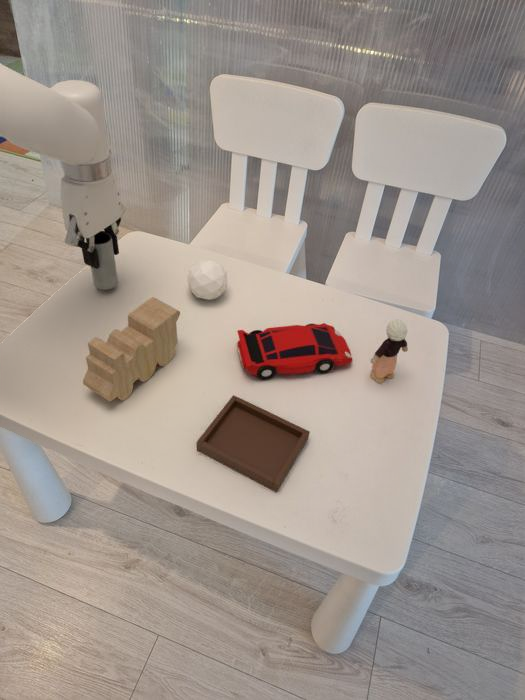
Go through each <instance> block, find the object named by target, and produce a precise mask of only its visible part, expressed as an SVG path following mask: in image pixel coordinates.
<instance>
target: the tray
mask: <svg viewBox="0 0 525 700" xmlns="http://www.w3.org/2000/svg"><path fill="white" fill-rule="evenodd" d="M310 433H311V431H310V430H307V429H305V428H303V427H301V426H299V425H298V424H295V423H293V422H291V421H289V420H287V419H284V418H283V417H281V416H278V415H276V414H274V413H272V412H270V411H268V410H266V409H264V408H262V407H259V406H258V405H256V404H253V403H251V402H249V401H247V400H245V399H243V398H241V397H238V396H236V395H234V394H233V395H232V396H231V398H230V399H229V400H228V401H227V403H226V404H224V406H223V408H222V409H221V410H220V412H219V413H217V415H216V417H214V419H213V420H212V422H211V423H210V424H209V426H208V427H207V428H206V430H205V431H204V432H203V433H202V434H201V436H200V437H199V438H198V440H197V441H196V443H195V445H196V451H197V452H200V454H201V453H202V454H203V455H204V456H207V457H209V458H210V459H213V460H214V461H216V462H217V463H220V464H222V465H224V466H226V467H228V468H229V469H232V470H233V471H235V472H238V473H239V474H240V475H243V476H244V477H247V478H249V479H250V480H252V481H253V482H256V483H258V484H260V485H262V486H263V487H265V488H267V489H270V490H271V491H273V492H275V493H278V492H279V489H280V488H281V486H282V484H283V483H284V481H285V479H286V477H288V474H289V473H290V470H291V469H292V467H293V466H294V464H295V463H296V460H297V459H298V457H299V455H300V454H301V453H302V450H303V449H304V447H305V446H306V444H307V442H308V441H309V437H310Z"/></svg>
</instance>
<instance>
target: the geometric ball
mask: <svg viewBox="0 0 525 700" xmlns="http://www.w3.org/2000/svg"><path fill="white" fill-rule="evenodd" d="M228 284H229V283H228V271H227V270H226V269H225V267H223V265H221V263H220V262H219V261H216V260H213V259H201V260H198V261H197V262H195V264H193V265H192V266H191V267H190V269H189V271H188V273H187V286H188V289H189V290H190V291H191V293H192V294H193V295H194V296H195V298H197V299H203V300H207V301H208V300H209V301H210V300H215V299H218V298H219V297H220V296H221V295H222V294H223V293H224V292H225V291H226V289H227V286H228Z"/></svg>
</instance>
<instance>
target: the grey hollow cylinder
mask: <svg viewBox="0 0 525 700" xmlns="http://www.w3.org/2000/svg"><path fill="white" fill-rule="evenodd" d="M85 242H86V243H87V238H85ZM94 249H96V250H97V251H98V257H99V263H100V267H99V268H98V269H96V268H93V267H91V266H90V270H91V276H92V281H93V285H94V287H95V288H97V289H98V290H105V291H106V290H111V289H113V288H115V287H116V286H117V285H118V283H119V280H118V272H117V265H116V264H117V263H116V258H115V255H114V250H113V242H112V236H111V234H110V233H108V232H105V231H104V230H102V231H100V232H99V233H97V234H95V238H94Z"/></svg>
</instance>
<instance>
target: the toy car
mask: <svg viewBox="0 0 525 700" xmlns="http://www.w3.org/2000/svg"><path fill="white" fill-rule="evenodd" d="M236 332H237V336H238V341H237V342H236V347H237V353H238V356H239V360H240V363H241V367H242V368H243V369H244V370H246V371H248V372H249V375H253V376H255V377H257V378H258V379H259V380H263V381H266V380H270V379H272V378H273V377H275V376H276V375H277V374H283V375H298V374H305V373H311V372H313V371H315V372H316V373H318V374H327V373H329V372H331V371H332V370H333V369H334V367H335V366H336V367H340V366H347V365H351V363H353V357H352V353H351V347H350V346H349V344H348V342H347V339H345V337H344V336H343V335H342V334H341V333H340V332H339V331H338V330H336V329H335V327H334V326H333V325H330V324H327V323H325V322H324V323H320V324H317V323H308V324H306V325H300V324H294V325H284V326H274V327H267V328H265V329H264V330H261V329H255V330H252V331H251V332H246V331H245V330H243V329H237V331H236Z"/></svg>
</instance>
